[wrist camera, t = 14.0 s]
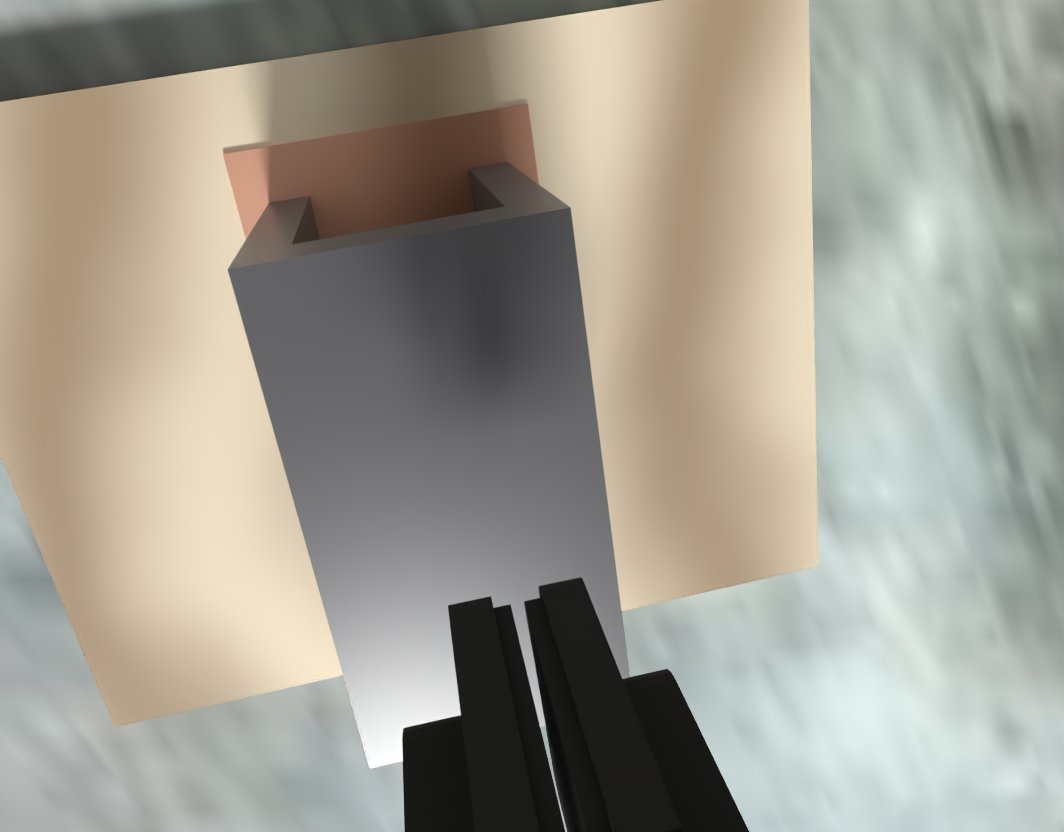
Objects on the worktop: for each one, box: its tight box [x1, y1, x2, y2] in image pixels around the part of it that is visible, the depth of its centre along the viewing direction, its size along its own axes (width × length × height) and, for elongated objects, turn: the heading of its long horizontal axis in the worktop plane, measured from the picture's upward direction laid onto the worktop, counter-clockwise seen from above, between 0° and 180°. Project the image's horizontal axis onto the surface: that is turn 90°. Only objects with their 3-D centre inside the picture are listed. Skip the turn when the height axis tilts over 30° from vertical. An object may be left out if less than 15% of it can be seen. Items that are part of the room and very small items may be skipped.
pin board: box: [0, 0, 818, 727], centre depth 19 cm, size 18×14×4 cm
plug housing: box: [228, 162, 630, 769], centre depth 17 cm, size 5×9×6 cm, turn 8°
